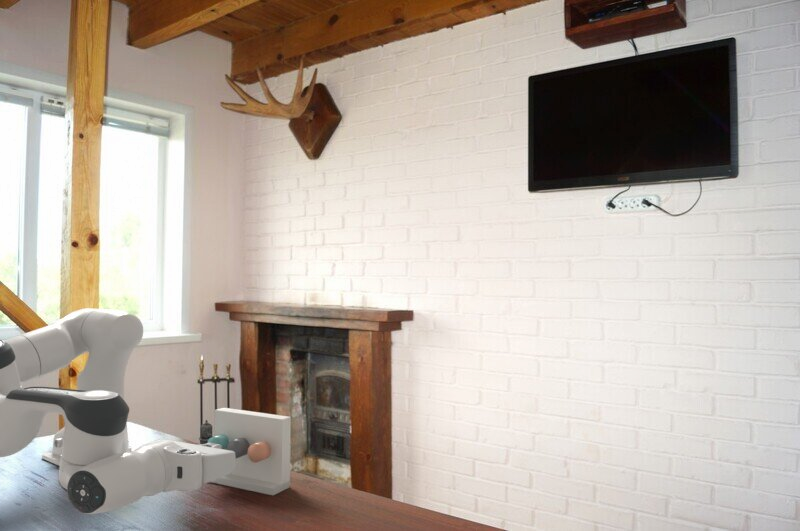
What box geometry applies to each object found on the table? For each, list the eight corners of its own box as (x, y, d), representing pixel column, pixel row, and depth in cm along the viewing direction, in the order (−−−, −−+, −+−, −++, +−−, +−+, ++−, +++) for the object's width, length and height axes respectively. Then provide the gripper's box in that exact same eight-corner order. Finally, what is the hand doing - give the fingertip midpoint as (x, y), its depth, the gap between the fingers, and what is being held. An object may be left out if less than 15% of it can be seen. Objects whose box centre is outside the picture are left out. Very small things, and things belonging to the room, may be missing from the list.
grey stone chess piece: (210, 472, 153) (211, 423, 153) (188, 470, 154) (189, 421, 154) (222, 465, 159) (223, 417, 159) (201, 463, 160) (201, 416, 160)
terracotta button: (247, 461, 139) (247, 443, 139) (256, 457, 142) (256, 440, 142) (261, 463, 137) (262, 445, 137) (270, 460, 140) (270, 442, 140)
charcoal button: (226, 457, 142) (227, 439, 142) (235, 454, 144) (236, 436, 144) (240, 459, 140) (240, 441, 140) (249, 456, 143) (249, 438, 143)
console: (204, 480, 147) (205, 412, 147) (222, 473, 152) (223, 407, 152) (273, 495, 137) (273, 422, 138) (289, 487, 143) (290, 416, 143)
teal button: (206, 453, 144) (207, 436, 144) (216, 450, 147) (216, 433, 147) (220, 456, 143) (220, 438, 143) (229, 452, 145) (229, 435, 145)
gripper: (122, 474, 119) (178, 456, 132) (201, 492, 110) (254, 470, 122) (122, 441, 120) (178, 426, 132) (202, 456, 110) (254, 438, 122)
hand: (215, 447), depth 127 cm, fingers closed
